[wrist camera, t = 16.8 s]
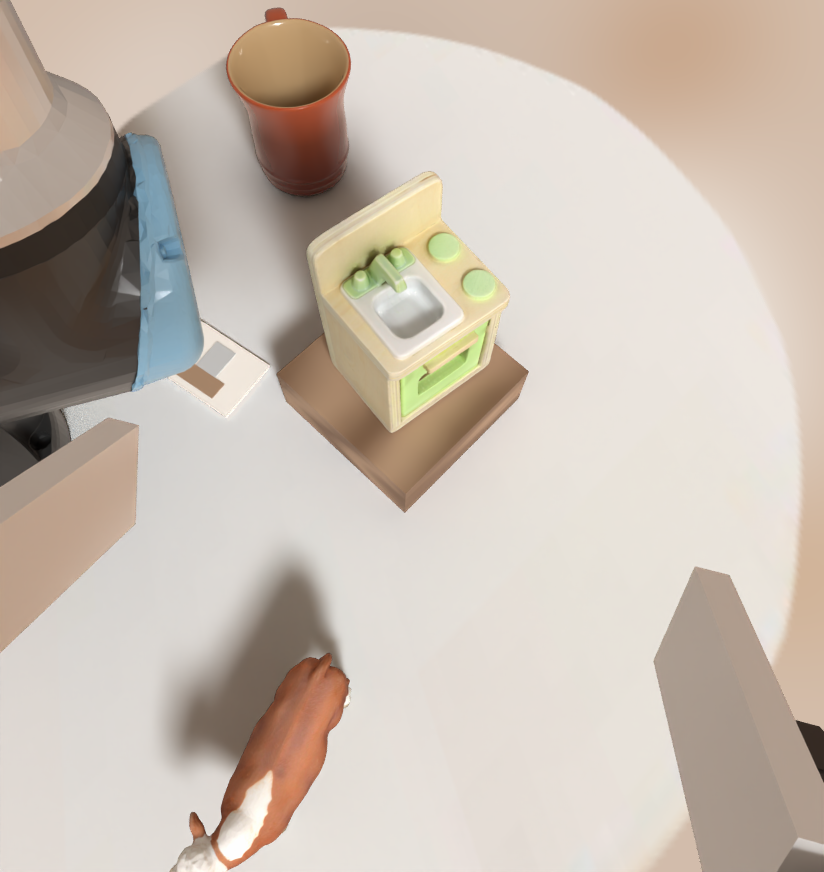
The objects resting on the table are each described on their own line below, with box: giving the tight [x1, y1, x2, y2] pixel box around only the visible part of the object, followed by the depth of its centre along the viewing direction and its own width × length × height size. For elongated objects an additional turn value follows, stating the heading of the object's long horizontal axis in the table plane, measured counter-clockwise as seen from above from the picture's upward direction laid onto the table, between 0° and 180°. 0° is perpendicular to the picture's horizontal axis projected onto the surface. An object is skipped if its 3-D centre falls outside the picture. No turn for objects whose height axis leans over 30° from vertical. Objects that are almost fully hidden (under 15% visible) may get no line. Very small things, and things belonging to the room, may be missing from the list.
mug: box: [226, 8, 351, 196], centre depth 54 cm, size 12×9×10 cm
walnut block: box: [277, 333, 529, 513], centre depth 49 cm, size 12×12×5 cm
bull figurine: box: [170, 653, 351, 872], centre depth 38 cm, size 4×13×8 cm, turn 148°
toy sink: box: [306, 171, 510, 433], centre depth 41 cm, size 8×7×13 cm
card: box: [167, 321, 270, 418], centre depth 51 cm, size 7×5×1 cm
